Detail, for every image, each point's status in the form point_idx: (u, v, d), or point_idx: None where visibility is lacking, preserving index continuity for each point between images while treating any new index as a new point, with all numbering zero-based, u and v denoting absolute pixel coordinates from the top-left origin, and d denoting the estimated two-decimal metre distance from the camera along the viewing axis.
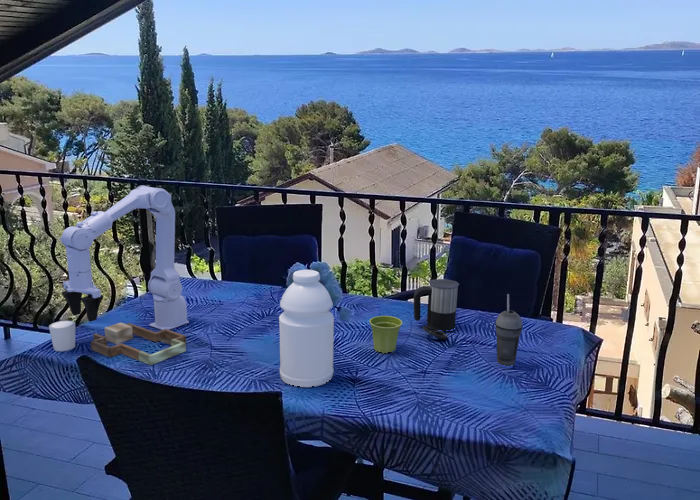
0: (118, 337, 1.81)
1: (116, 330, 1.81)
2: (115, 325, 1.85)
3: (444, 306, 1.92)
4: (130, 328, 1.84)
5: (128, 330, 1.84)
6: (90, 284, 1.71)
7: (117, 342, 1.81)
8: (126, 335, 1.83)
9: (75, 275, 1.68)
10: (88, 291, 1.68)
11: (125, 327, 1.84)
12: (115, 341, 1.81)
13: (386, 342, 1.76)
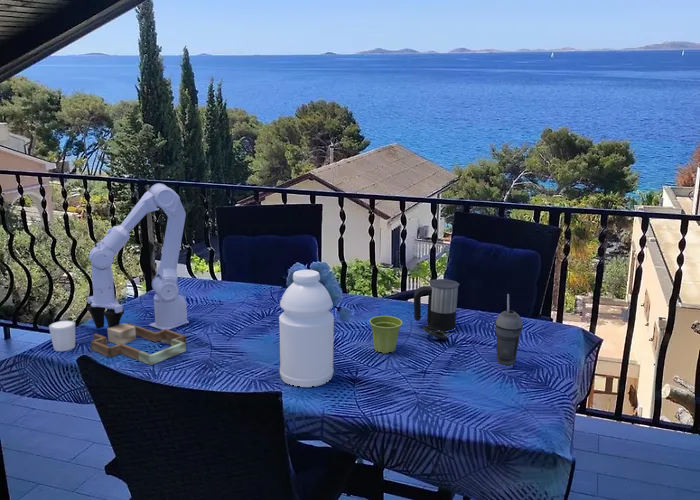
0: (122, 338, 1.80)
1: (119, 330, 1.80)
2: (118, 326, 1.84)
3: (444, 307, 1.91)
4: (133, 328, 1.83)
5: (131, 330, 1.83)
6: (112, 300, 1.85)
7: None
8: (129, 335, 1.83)
9: (99, 291, 1.82)
10: (111, 306, 1.82)
11: (128, 327, 1.83)
12: (119, 342, 1.80)
13: (386, 342, 1.76)
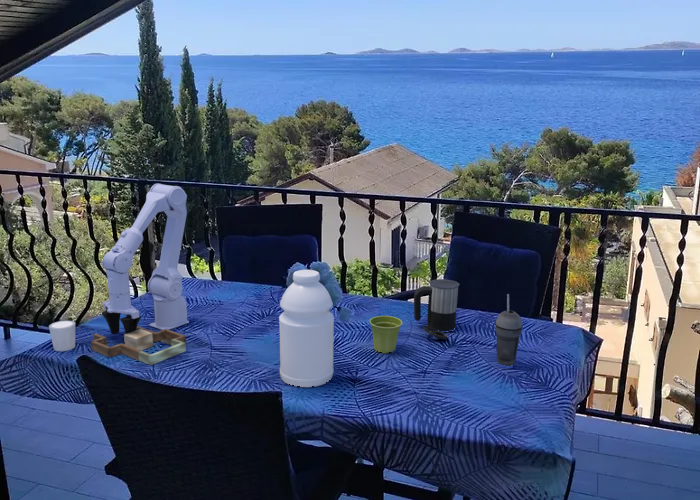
0: (138, 344, 1.76)
1: (136, 337, 1.76)
2: (135, 332, 1.80)
3: (444, 307, 1.91)
4: (150, 335, 1.79)
5: (148, 337, 1.78)
6: (129, 305, 1.80)
7: None
8: (146, 342, 1.78)
9: (115, 297, 1.77)
10: (127, 312, 1.77)
11: (145, 334, 1.78)
12: (135, 348, 1.76)
13: (386, 342, 1.76)
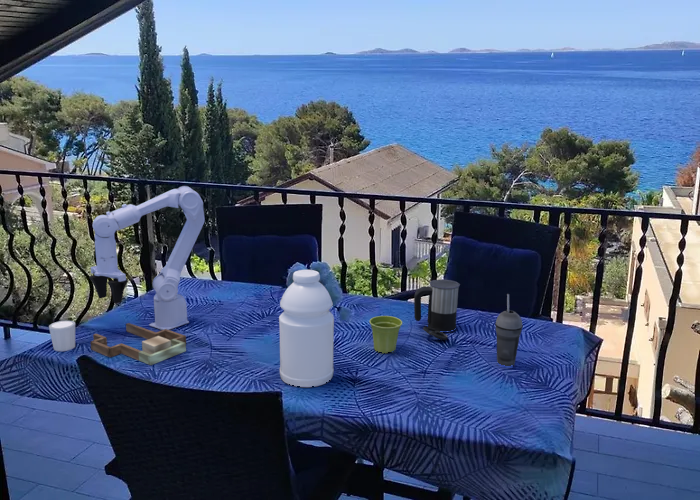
0: None
1: (154, 344, 1.72)
2: (153, 339, 1.75)
3: (445, 307, 1.91)
4: (169, 342, 1.74)
5: (166, 344, 1.74)
6: (116, 269, 1.84)
7: None
8: None
9: (102, 260, 1.81)
10: (114, 275, 1.81)
11: (163, 341, 1.74)
12: None
13: (386, 342, 1.76)
